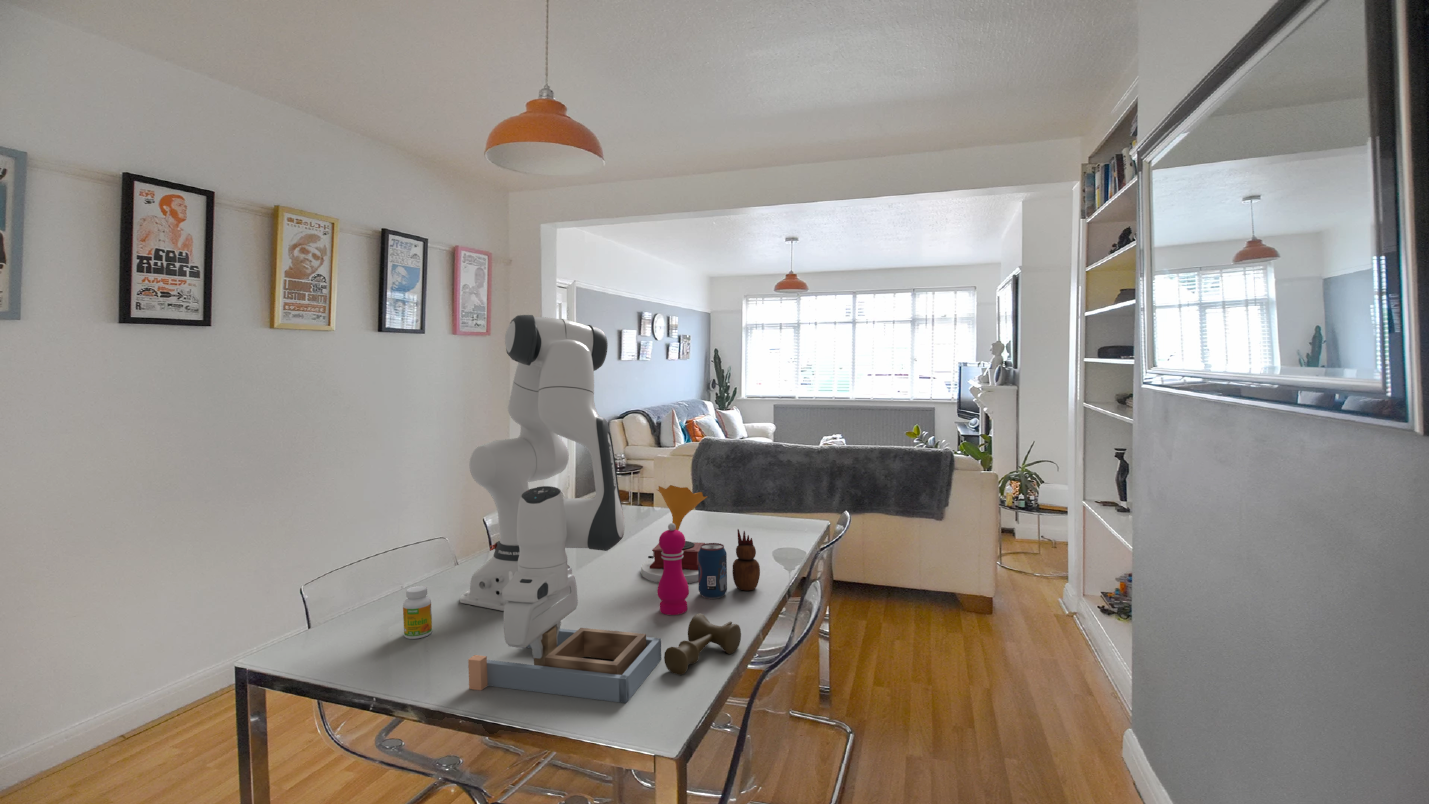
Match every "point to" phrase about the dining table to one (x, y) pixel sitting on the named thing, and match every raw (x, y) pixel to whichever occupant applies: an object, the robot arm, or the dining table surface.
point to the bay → (565, 675)
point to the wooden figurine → (745, 565)
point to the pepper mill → (672, 573)
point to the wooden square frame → (592, 650)
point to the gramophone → (679, 506)
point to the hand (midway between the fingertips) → (545, 651)
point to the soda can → (712, 570)
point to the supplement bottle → (417, 613)
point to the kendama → (701, 643)
